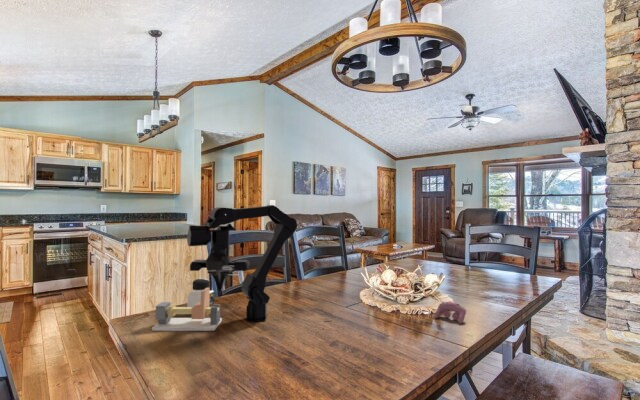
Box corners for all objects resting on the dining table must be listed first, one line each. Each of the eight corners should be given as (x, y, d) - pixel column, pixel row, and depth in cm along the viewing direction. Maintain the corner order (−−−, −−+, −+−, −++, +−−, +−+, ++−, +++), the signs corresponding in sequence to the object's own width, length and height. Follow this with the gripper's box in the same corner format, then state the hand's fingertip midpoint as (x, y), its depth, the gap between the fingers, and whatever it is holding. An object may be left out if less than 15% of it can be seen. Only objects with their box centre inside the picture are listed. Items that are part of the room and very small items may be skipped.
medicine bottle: (204, 314, 123) (204, 282, 123) (186, 313, 124) (187, 281, 124) (214, 308, 130) (214, 278, 130) (197, 307, 131) (197, 277, 131)
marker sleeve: (209, 313, 115) (209, 287, 115) (203, 319, 109) (203, 292, 109) (197, 313, 115) (198, 287, 115) (191, 319, 109) (191, 292, 109)
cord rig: (222, 320, 117) (222, 300, 117) (214, 330, 108) (214, 308, 108) (164, 320, 116) (164, 300, 116) (152, 330, 107) (152, 308, 107)
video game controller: (465, 326, 117) (468, 306, 119) (461, 323, 114) (464, 303, 116) (438, 319, 124) (441, 301, 126) (433, 316, 121) (437, 297, 123)
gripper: (183, 247, 104) (183, 297, 104) (242, 247, 104) (242, 297, 104) (196, 243, 115) (195, 288, 115) (249, 243, 116) (249, 288, 115)
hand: (220, 290), depth 112 cm, fingers closed
